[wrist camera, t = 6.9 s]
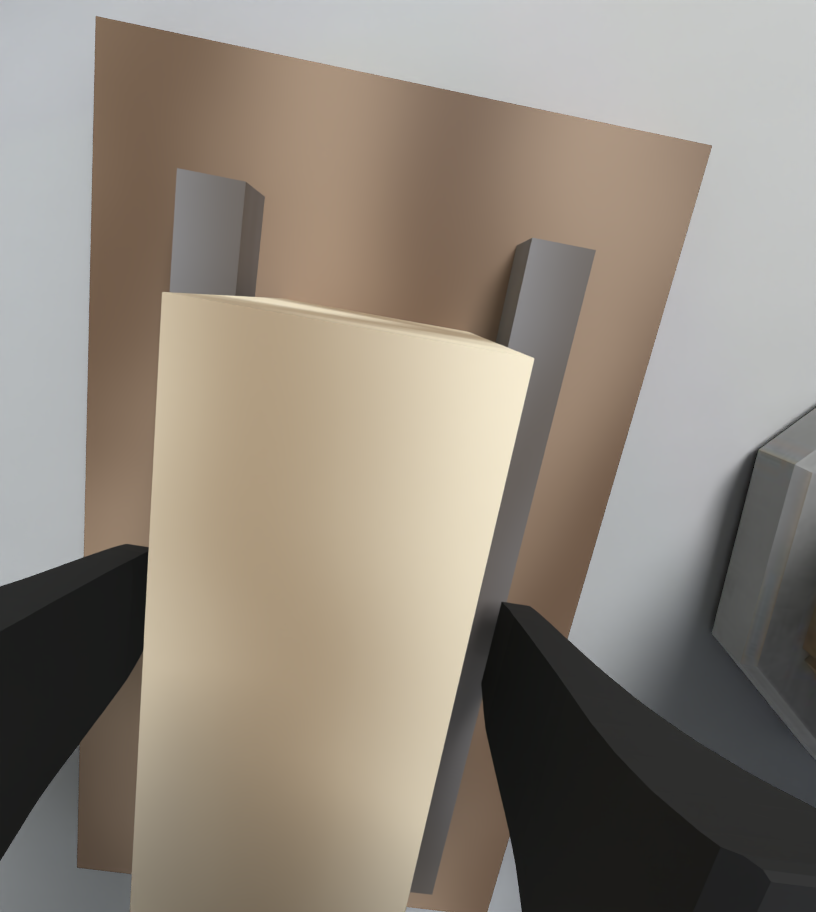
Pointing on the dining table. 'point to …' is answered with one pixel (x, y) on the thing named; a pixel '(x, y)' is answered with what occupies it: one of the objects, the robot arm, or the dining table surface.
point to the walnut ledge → (383, 294)
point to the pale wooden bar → (308, 596)
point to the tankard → (777, 581)
